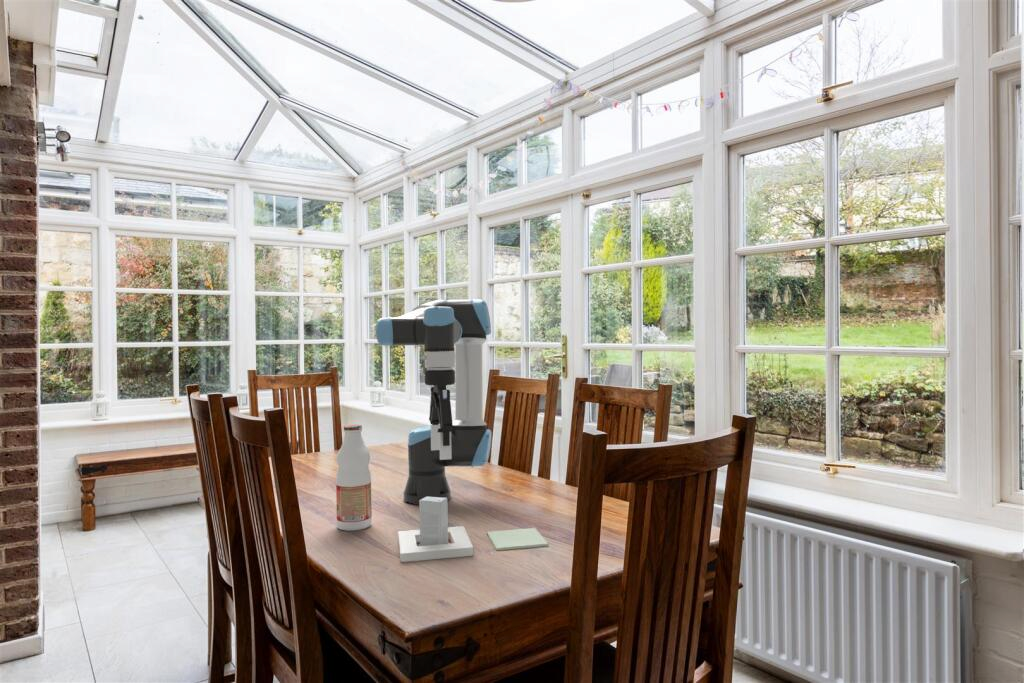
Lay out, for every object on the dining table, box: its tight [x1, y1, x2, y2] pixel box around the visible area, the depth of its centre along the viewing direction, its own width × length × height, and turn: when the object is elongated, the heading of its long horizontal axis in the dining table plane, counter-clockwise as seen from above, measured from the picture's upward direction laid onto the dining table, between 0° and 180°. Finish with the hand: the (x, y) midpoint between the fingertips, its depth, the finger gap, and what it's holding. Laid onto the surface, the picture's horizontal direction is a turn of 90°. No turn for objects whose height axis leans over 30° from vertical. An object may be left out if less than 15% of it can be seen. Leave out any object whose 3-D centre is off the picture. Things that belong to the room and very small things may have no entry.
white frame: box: [397, 525, 474, 563], centre depth 152 cm, size 17×17×2 cm
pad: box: [486, 527, 549, 551], centre depth 157 cm, size 13×13×1 cm
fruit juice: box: [335, 424, 373, 532], centre depth 170 cm, size 9×9×28 cm
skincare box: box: [418, 497, 449, 546], centre depth 152 cm, size 6×4×12 cm
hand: (440, 454), depth 152 cm, fingers open, 13 cm apart
